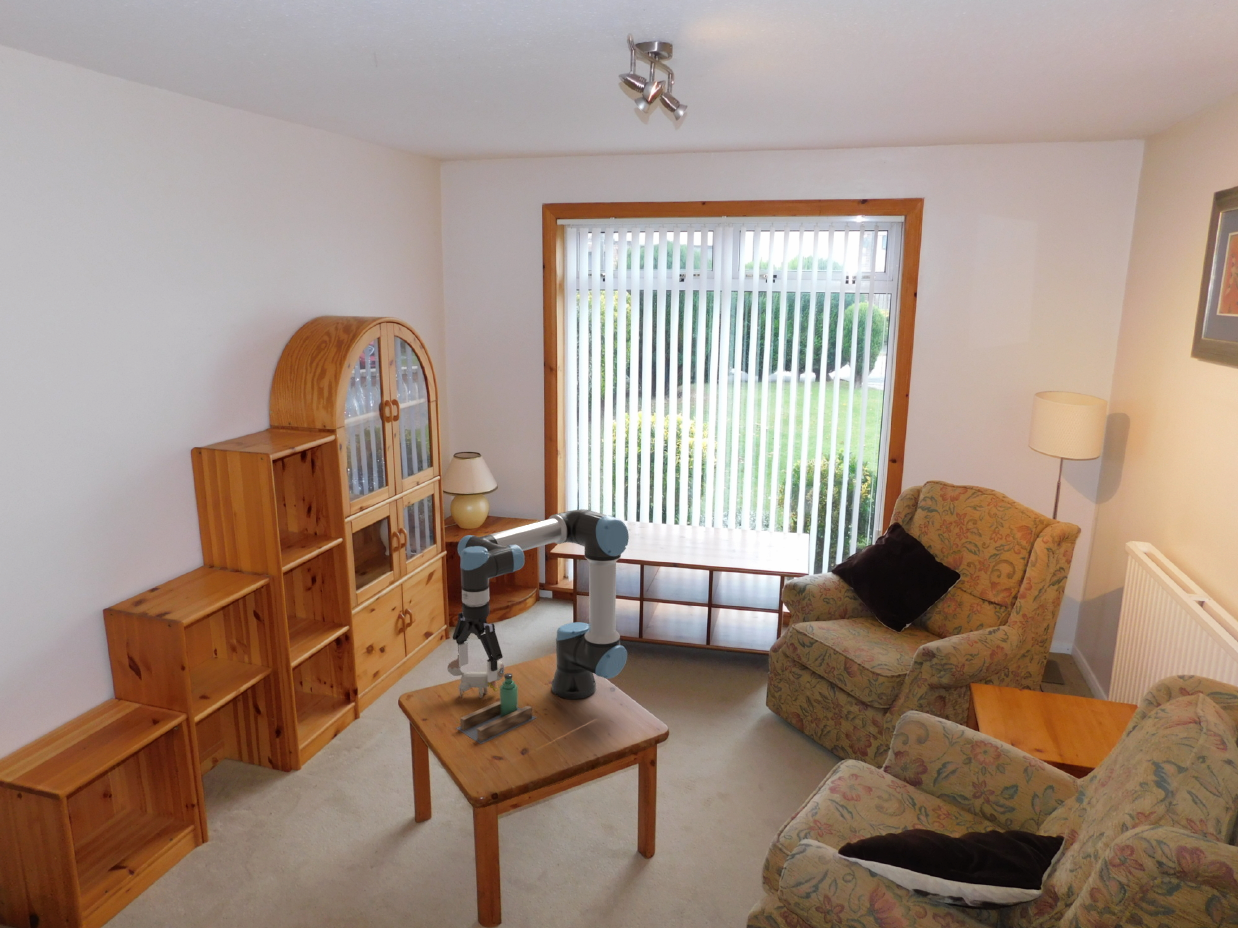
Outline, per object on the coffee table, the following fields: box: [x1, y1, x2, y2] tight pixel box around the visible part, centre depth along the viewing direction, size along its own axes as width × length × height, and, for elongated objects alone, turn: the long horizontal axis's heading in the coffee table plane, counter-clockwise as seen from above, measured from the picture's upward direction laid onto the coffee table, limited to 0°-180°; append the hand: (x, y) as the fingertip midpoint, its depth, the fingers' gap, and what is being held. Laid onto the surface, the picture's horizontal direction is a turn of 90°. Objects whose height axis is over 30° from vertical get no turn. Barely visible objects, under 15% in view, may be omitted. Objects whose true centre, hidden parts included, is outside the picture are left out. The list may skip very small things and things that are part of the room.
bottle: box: [499, 672, 519, 717], centre depth 264 cm, size 5×5×15 cm
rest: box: [459, 700, 533, 741], centre depth 261 cm, size 20×11×4 cm, turn 136°
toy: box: [447, 654, 505, 699], centre depth 277 cm, size 9×19×15 cm, turn 89°
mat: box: [455, 707, 537, 745], centre depth 262 cm, size 22×13×1 cm, turn 136°
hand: (477, 672), depth 236 cm, fingers open, 13 cm apart
